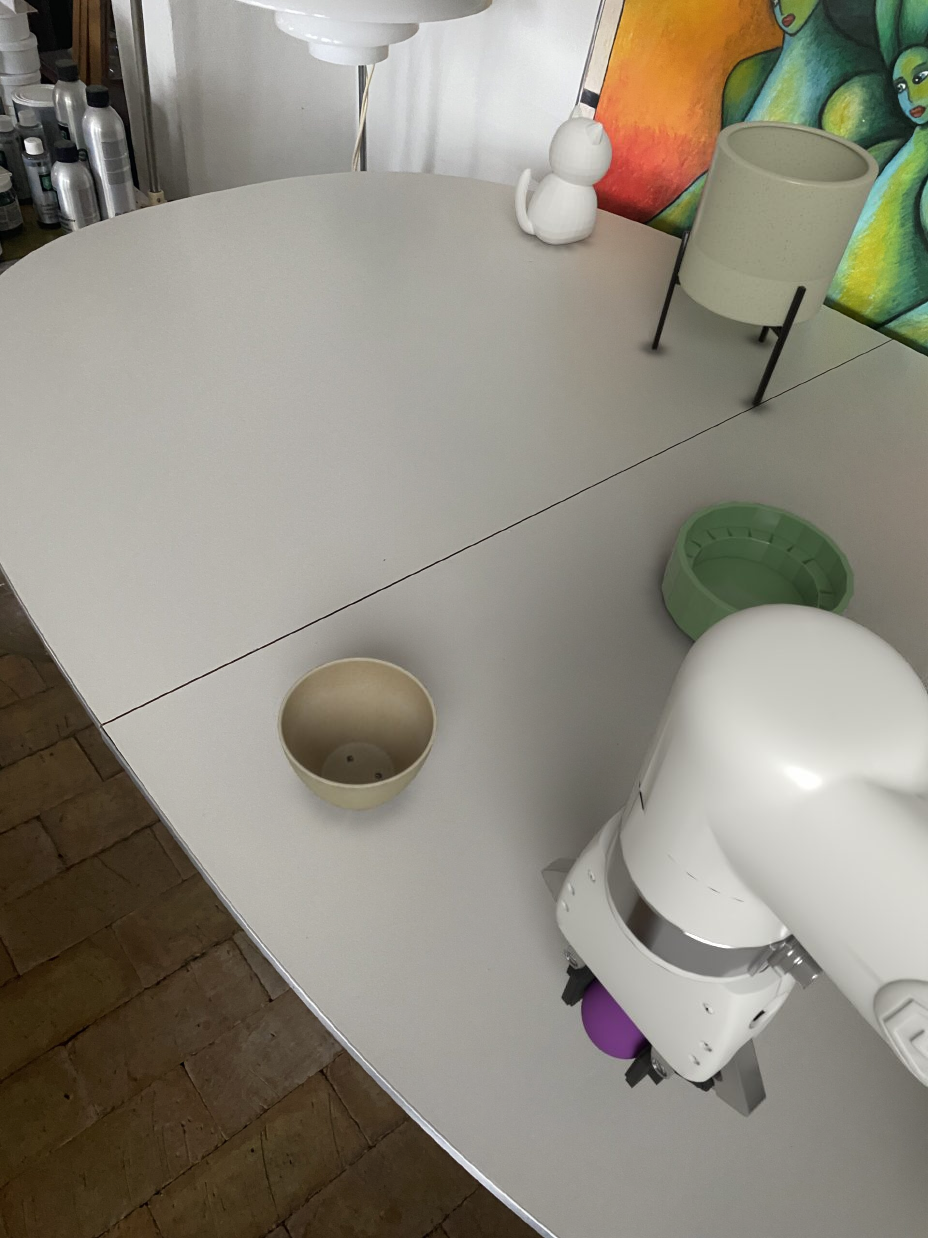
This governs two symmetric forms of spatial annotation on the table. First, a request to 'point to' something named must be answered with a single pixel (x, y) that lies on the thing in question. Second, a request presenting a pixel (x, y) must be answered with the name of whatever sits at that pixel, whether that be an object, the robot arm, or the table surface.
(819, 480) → the table surface
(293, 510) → the table surface
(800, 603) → the bowl
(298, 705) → the flower pot
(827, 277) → the planter
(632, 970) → the robot arm
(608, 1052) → the ball
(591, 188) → the cat figurine
